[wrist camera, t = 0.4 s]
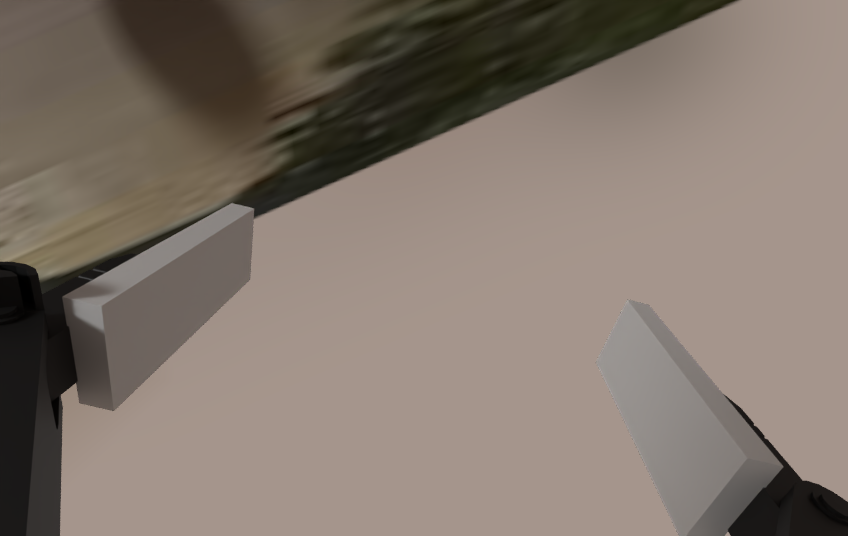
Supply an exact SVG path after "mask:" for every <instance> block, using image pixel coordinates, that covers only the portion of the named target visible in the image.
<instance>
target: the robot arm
mask: <svg viewBox="0 0 848 536" xmlns="http://www.w3.org/2000/svg"><path fill="white" fill-rule="evenodd" d="M253 220H254V209H253V208H249V207H245V206H241V205H237V204H233V203H231V204H230V205H228V206H226V207H224V208H222V209H221V210H219V211H217V212H215V213H213V214H211V215H210V216H208V217H206V218H204V219H202V220H201V221H199V222H197V223H195V224H193V225H191V226H190V227H188V228H186V229H184V230H182V231H181V232H179V233H177V234H175V235H173V236H172V237H170V238H168V239H166V240H164V241H162V242H161V243H159V244H157V245H155V246H153V247H152V248H150V249H148V250H146V251H144V252H143V253H141V254H139V255H136V254H128V255H124V256H121V257H117V258H113V259H109V260H108V261H106V262H104V263H102V264H100V265H98V266H96V267H94V268H93V270H88V271H86V272H84V273H83V274H81V275H79V277H75V278H73V279H71V280H69V281H67V282H65V283H63V284H61V285H59V286H58V287H56V288H54V289H52V290H50V291H48V292H46V293H44V294H42V293H41V288H40V282H39V277H38V273H37V271H36V269H35V268H33V267H31V266H29V265H27V264H21V263H16V262H0V536H60V501H61V500H60V499H61V455H62V410H63V407H62V401H61V394H62V393H64V392H65V391H66V390H67V389H69V388H70V387H71V386H72V385H74V384H75V383H76V384H77V391H78V397H79V403H81V404H86V405H90V406H94V407H99V408H103V409H107V410H112V411H114V410H115V409H116V408H117V407H118V406H119V405H120V404H122V403H123V402H124V401H125V400H126V399H127V398H128V397H129V396H130V395H131V394H132V393H133V392H134V391H135V390H136V389H137V388H138V387H139V386H140V385H141V384H142V383H143V382H144V381H145V380H146V379H148V377H150V375H152V374H153V373H154V372H155V371H156V370H157V369H158V368H159V367H160V366H161V365H162V364H163V363H164V362H165V361H166V360H167V359H168V358H169V357H170V356H171V355H172V354H173V353H174V352H176V350H178V349H179V348H180V347H181V346H182V345H183V344H184V343H185V342H186V341H187V340H188V339H189V338H190V337H191V336H192V335H193V334H194V333H195V332H196V331H197V330H198V329H199V328H200V327H201V326H202V325H204V323H206V322H207V321H208V320H209V319H210V318H211V317H212V316H213V315H214V314H215V313H216V312H217V311H218V310H219V309H220V308H221V307H222V306H223V305H224V304H225V303H226V302H227V301H228V300H229V299H230V298H232V297H233V296H234V295H235V294H236V293H237V292H238V291H239V290H240V289H241V288H242V287H243V286H244V285H245V284H246V283H247V282H248V281H249V280H250V272H251V255H252V237H253ZM596 364H597V366H598V368H599V370H600V372H601V374H602V376H603V378H604V380H605V383H606V385H607V387H608V389H609V391H610V393H611V395H612V397H613V399H614V401H615V403H616V406H617V408H618V410H619V412H620V414H621V416H622V418H623V420H624V422H625V424H626V426H627V428H628V431H629V433H630V435H631V437H632V439H633V441H634V443H635V445H636V447H637V449H638V452H639V454H640V455H641V458H642V460H643V462H644V464H645V466H646V468H647V470H648V472H649V475H650V477H651V479H652V481H653V483H654V485H655V487H656V489H657V491H658V493H659V495H660V497H661V499H662V502H663V504H664V506H665V508H666V510H667V512H668V514H669V516H670V518H671V520H672V523H673V525H674V527H675V529H676V531H677V533H678V535H679V536H725V534H726V533H727V532H729V533H730V535H731V536H848V502H847V501H845V500H844V499H843V498H841V497H840V496H838V495H837V494H835V493H834V492H832V491H830V490H828V489H826V488H824V487H822V486H821V485H819V484H815V483H812V482H809V481H802V479H801V478H800V477H799V476H798V475H797V473H796V472H795V471H794V470H793V469H792V468H791V466H790V465H789V464H788V463H787V462H786V461H785V460H784V458H783V457H782V456H781V455H780V454H779V452H778V451H777V450H776V449H775V448H774V447H773V445H772V444H771V443H770V442H769V441H768V440H767V439H765V438H764V435H763V434H762V432H761V431H760V430H759V429H758V428H757V427H756V426H754V423H753V422H752V421H751V419H750V418H749V417H748V416H747V415H746V414H745V412H744V411H743V410H742V409H741V408H740V407H739V406H738V405H736V404H735V403H734V402H733V401H731V400H730V399H729V398H728V397H727V396H725V395H724V394H723V393H722V392H721V391H720V390H719V389H718V387H717V386H716V385H715V384H714V383H713V381H712V380H711V379H710V378H709V377H708V375H707V374H706V373H705V372H704V371H703V370H702V368H701V367H700V366H699V365H698V363H697V362H696V361H695V360H694V359H693V357H692V356H691V355H690V354H689V353H688V351H687V350H686V349H685V348H684V347H683V345H682V344H681V343H680V342H679V341H678V339H677V338H676V337H675V336H674V335H673V333H672V332H671V331H670V330H669V329H668V327H667V326H666V325H665V324H664V323H663V321H662V320H661V319H660V318H659V317H658V315H657V314H656V313H655V312H654V311H653V309H652V308H651V307H650V306H649V305H648V304H644V303H639V302H635V301H631V300H627V301H626V303H625V305H624V307H623V309H622V311H621V313H620V315H619V317H618V319H617V321H616V323H615V325H614V327H613V329H612V331H611V333H610V335H609V337H608V339H607V341H606V343H605V345H604V347H603V349H602V351H601V353H600V355H599V357H598V359H597V361H596Z"/></svg>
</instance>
